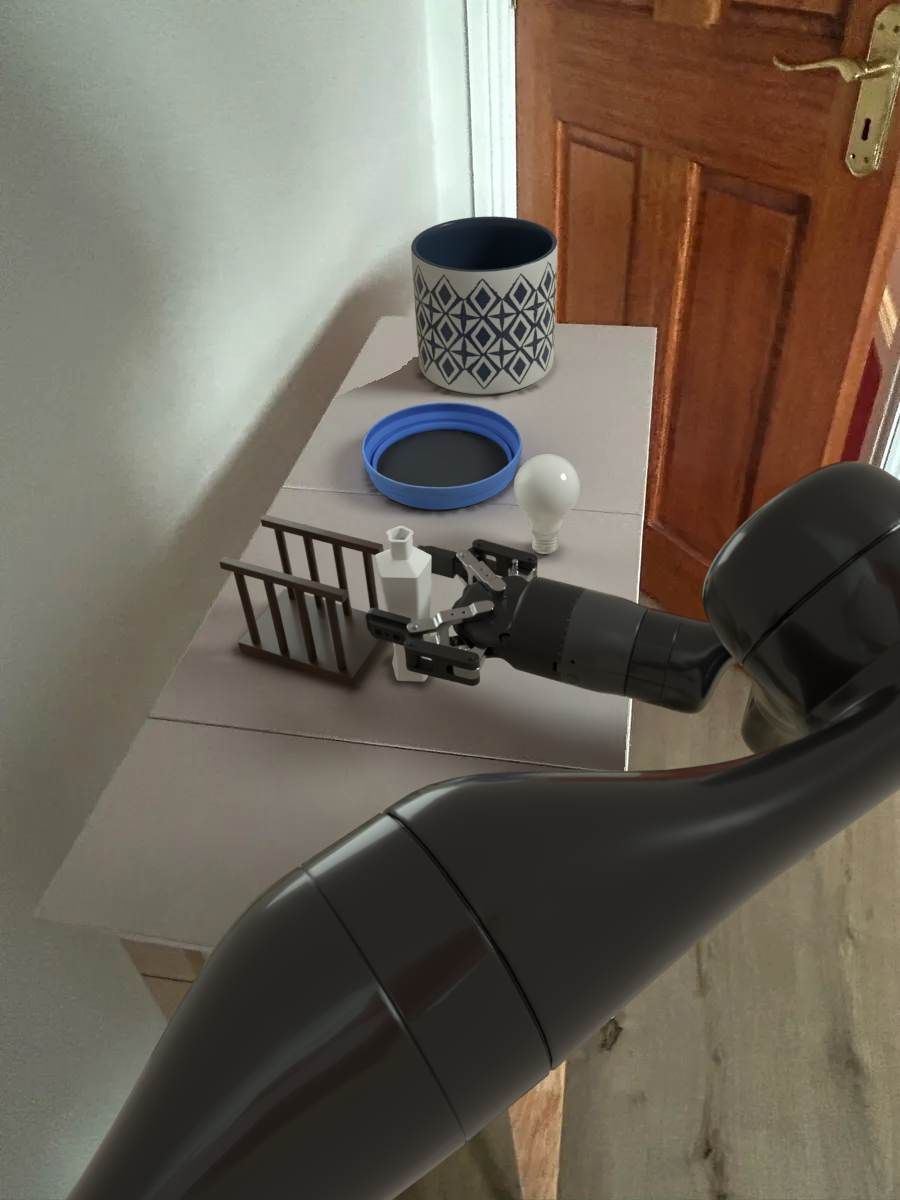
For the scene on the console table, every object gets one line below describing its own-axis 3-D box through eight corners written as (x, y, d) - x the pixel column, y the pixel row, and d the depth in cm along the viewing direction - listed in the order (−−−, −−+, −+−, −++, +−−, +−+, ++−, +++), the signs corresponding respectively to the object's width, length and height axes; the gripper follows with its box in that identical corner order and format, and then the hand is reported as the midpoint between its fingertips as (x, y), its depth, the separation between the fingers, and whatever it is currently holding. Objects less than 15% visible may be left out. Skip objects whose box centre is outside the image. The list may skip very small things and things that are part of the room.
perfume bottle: (375, 671, 81) (357, 538, 71) (408, 643, 84) (395, 511, 74) (413, 694, 79) (400, 560, 69) (446, 665, 81) (438, 532, 71)
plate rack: (395, 628, 85) (385, 541, 78) (354, 687, 80) (339, 599, 73) (286, 597, 89) (267, 511, 82) (240, 651, 84) (215, 564, 77)
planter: (440, 408, 115) (433, 281, 104) (404, 347, 128) (394, 228, 117) (574, 383, 118) (581, 257, 107) (526, 325, 131) (527, 208, 121)
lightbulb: (541, 524, 96) (543, 433, 89) (588, 549, 93) (595, 457, 85) (500, 552, 93) (499, 461, 86) (548, 579, 89) (551, 486, 82)
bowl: (373, 525, 97) (369, 498, 95) (357, 437, 111) (354, 411, 108) (537, 502, 99) (538, 475, 97) (503, 419, 112) (503, 393, 110)
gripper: (610, 544, 72) (426, 502, 78) (550, 664, 63) (345, 607, 68) (604, 614, 77) (431, 570, 83) (547, 735, 68) (356, 676, 73)
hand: (392, 586), depth 75 cm, fingers open, 8 cm apart
